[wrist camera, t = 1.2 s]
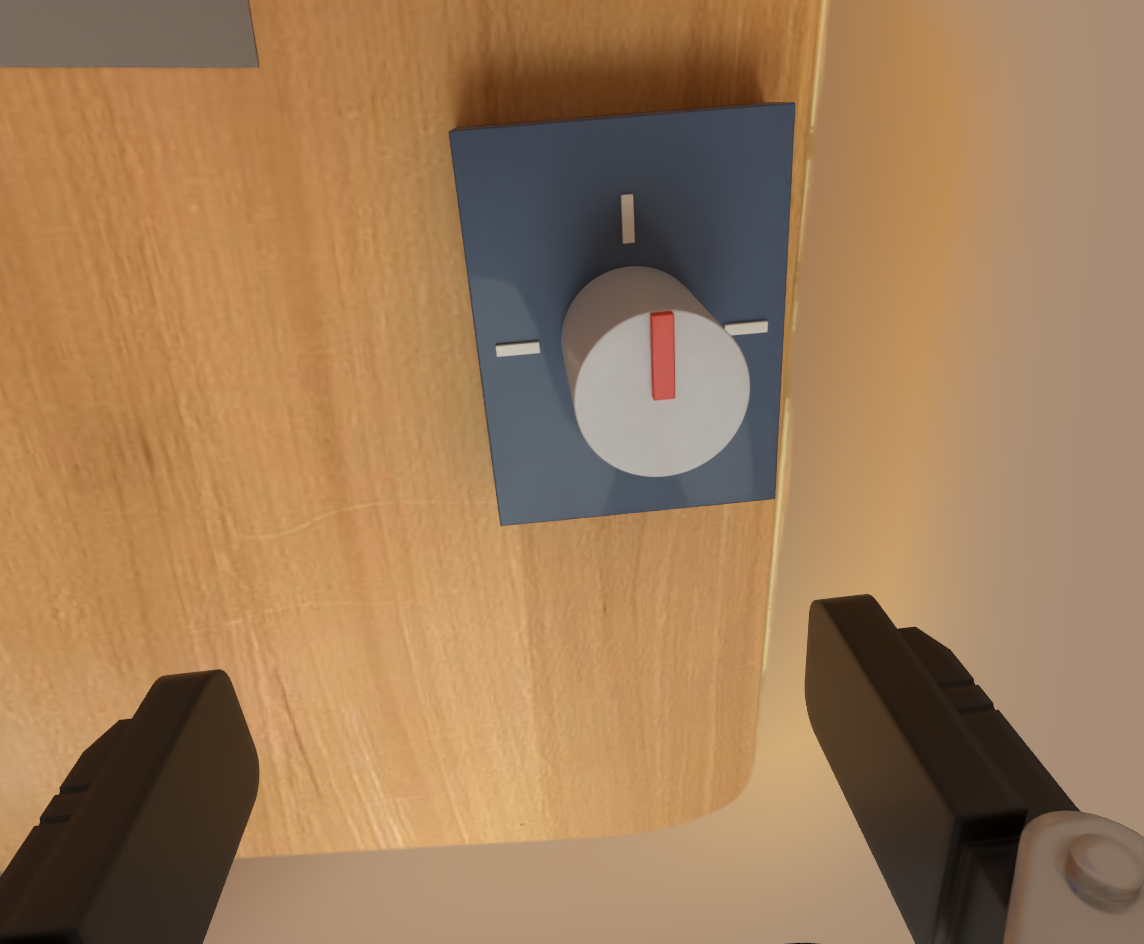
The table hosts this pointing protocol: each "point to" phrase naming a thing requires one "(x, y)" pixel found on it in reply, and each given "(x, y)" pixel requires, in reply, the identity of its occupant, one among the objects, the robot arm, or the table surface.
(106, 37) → the platform
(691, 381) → the tap knob
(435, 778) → the table surface
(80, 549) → the table surface
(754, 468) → the rotary dial base
